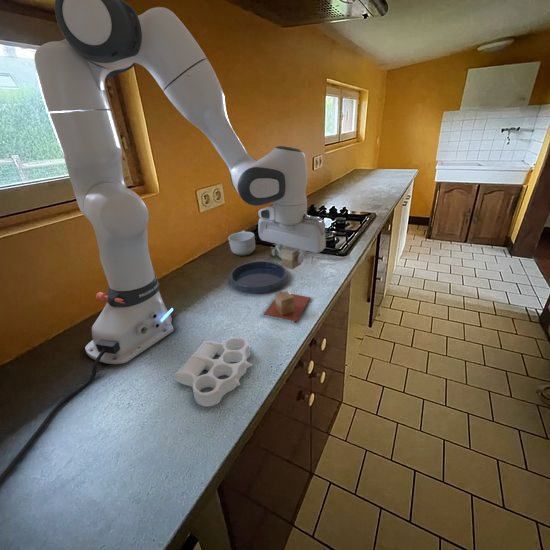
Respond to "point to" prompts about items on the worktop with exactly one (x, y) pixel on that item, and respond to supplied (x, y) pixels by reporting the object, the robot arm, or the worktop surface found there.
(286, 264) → the block
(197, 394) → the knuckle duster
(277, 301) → the block
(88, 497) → the worktop surface
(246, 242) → the teacup
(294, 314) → the mat
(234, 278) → the pan
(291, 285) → the worktop surface
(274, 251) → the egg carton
